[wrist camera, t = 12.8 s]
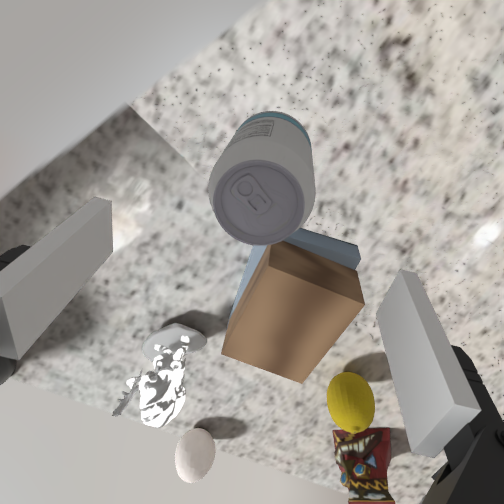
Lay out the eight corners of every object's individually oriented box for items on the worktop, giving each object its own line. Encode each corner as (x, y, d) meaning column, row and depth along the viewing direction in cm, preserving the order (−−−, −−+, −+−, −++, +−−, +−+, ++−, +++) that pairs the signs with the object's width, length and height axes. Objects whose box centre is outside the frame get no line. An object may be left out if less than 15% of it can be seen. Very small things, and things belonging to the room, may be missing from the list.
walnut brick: (229, 319, 39) (221, 353, 35) (272, 235, 33) (268, 265, 28) (301, 347, 40) (301, 383, 36) (356, 271, 34) (365, 304, 29)
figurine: (192, 306, 42) (158, 392, 32) (222, 339, 44) (199, 429, 34) (138, 331, 46) (92, 416, 35) (169, 361, 48) (134, 448, 38)
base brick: (230, 311, 43) (226, 329, 40) (263, 214, 35) (260, 228, 32) (307, 334, 43) (308, 352, 40) (356, 243, 35) (360, 259, 33)
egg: (226, 436, 56) (217, 487, 50) (197, 444, 59) (185, 494, 52) (204, 415, 54) (191, 467, 48) (175, 424, 56) (159, 474, 50)
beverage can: (267, 200, 33) (253, 272, 23) (217, 145, 31) (178, 198, 21) (327, 154, 30) (340, 214, 20) (276, 90, 28) (263, 121, 18)
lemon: (331, 389, 47) (336, 448, 40) (319, 362, 45) (323, 420, 38) (373, 383, 46) (385, 443, 39) (363, 354, 43) (374, 414, 36)
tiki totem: (389, 426, 50) (405, 497, 43) (391, 458, 55) (406, 527, 47) (329, 427, 52) (334, 496, 44) (335, 458, 56) (341, 525, 49)
